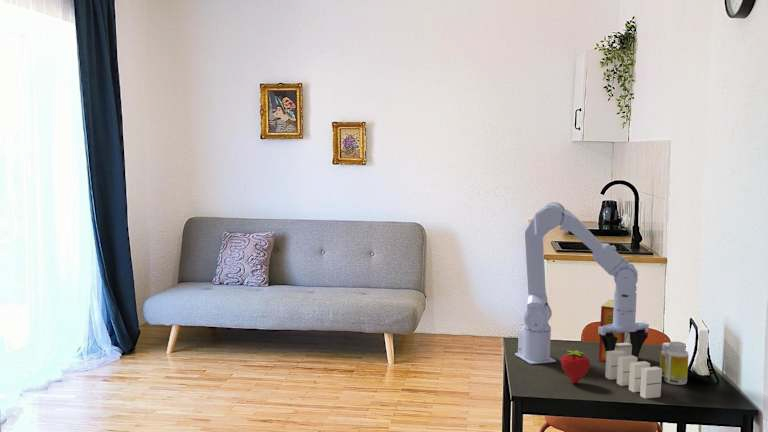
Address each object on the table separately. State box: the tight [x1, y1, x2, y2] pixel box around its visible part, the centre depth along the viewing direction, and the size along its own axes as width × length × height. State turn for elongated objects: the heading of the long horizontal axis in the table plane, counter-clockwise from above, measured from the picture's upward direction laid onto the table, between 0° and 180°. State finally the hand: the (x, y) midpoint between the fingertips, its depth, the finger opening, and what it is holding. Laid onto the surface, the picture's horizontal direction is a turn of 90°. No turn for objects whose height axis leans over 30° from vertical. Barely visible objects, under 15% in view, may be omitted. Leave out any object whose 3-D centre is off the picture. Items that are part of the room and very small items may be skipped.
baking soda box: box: [598, 299, 631, 363], centre depth 218 cm, size 10×6×16 cm
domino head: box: [615, 342, 632, 356], centre depth 208 cm, size 2×4×7 cm, turn 109°
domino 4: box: [639, 366, 663, 399], centre depth 188 cm, size 2×4×7 cm, turn 108°
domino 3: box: [628, 360, 651, 393], centre depth 192 cm, size 2×4×7 cm, turn 109°
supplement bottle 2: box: [663, 341, 690, 386], centre depth 198 cm, size 6×6×10 cm
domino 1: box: [604, 350, 625, 381], centre depth 201 cm, size 2×4×7 cm, turn 109°
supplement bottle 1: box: [659, 342, 670, 378], centre depth 204 cm, size 5×5×8 cm
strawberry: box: [560, 349, 591, 384], centre depth 196 cm, size 6×8×10 cm
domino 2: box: [616, 355, 639, 387], centre depth 197 cm, size 2×4×7 cm, turn 109°
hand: (622, 358), depth 209 cm, fingers open, 7 cm apart
